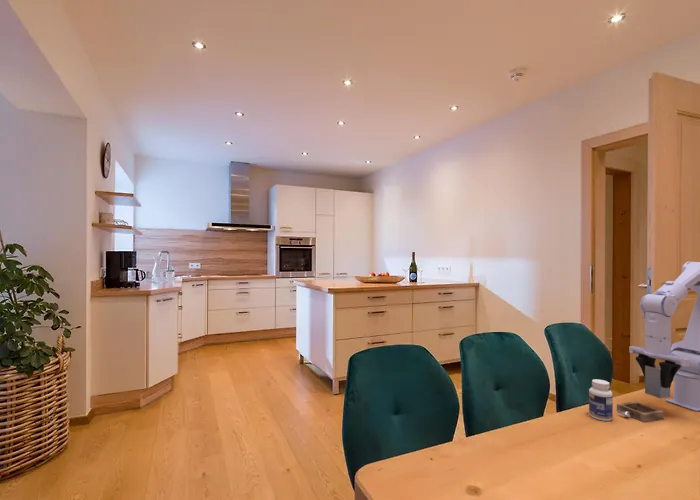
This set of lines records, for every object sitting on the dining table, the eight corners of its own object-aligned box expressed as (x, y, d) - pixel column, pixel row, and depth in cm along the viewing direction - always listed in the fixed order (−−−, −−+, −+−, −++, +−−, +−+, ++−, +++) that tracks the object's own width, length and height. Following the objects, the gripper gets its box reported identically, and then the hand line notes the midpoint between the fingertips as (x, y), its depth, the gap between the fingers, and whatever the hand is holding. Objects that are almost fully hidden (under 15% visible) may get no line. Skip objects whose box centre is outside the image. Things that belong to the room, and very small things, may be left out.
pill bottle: (584, 415, 103) (584, 379, 103) (596, 411, 105) (596, 377, 105) (604, 423, 98) (605, 386, 98) (617, 419, 100) (617, 383, 100)
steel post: (654, 391, 107) (654, 364, 108) (670, 396, 104) (670, 368, 104) (645, 393, 106) (645, 365, 106) (660, 398, 102) (660, 369, 103)
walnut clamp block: (635, 408, 108) (635, 401, 108) (663, 419, 100) (663, 411, 100) (610, 412, 105) (610, 405, 105) (637, 423, 97) (637, 416, 98)
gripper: (621, 332, 111) (621, 377, 111) (677, 343, 97) (676, 395, 97) (638, 331, 113) (638, 375, 113) (695, 342, 99) (695, 392, 99)
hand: (657, 384), depth 105 cm, fingers closed on steel post, 4 cm apart
